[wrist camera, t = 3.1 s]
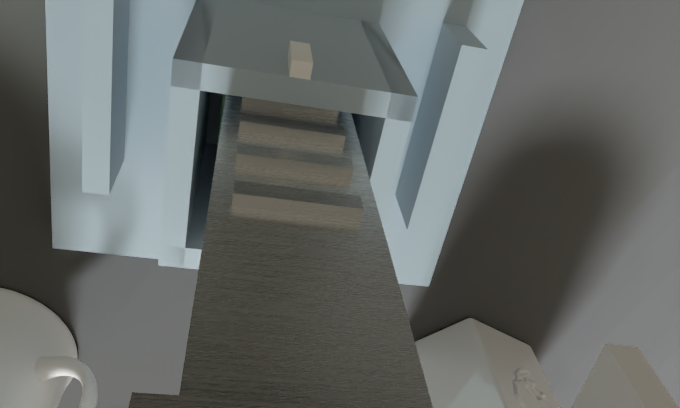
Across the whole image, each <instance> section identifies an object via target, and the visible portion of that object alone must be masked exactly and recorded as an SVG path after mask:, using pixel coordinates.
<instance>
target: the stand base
mask: <svg viewBox="0 0 680 408" xmlns="http://www.w3.org/2000/svg"><path fill="white" fill-rule="evenodd" d="M523 2H524V0H45V9H46V43H47V77H48V111H49V145H50V179H51V213H52V247H53V248H55V249H65V250H74V251H84V252H94V253H104V254H114V255H123V256H133V257H143V258H153V259H159V261H158V265H160V266H170V267H180V268H190V269H199V264H200V258H201V251H202V245H203V238H204V232H205V226H206V219H207V213H208V207H209V200H210V194H211V187H212V181H213V175H214V168H215V161H216V152H217V144H218V135H219V126H220V117H221V108H222V99H223V94H227V95H234V96H241V97H247V98H254V99H261V100H267V101H274V102H281V103H287V104H294V105H301V106H307V107H314V108H321V109H327V110H334V111H341V112H348V113H351V114H352V118H353V121H354V125H355V129H356V132H357V136H358V139H359V143H360V147H361V150H362V154H363V157H364V161H365V165H366V168H367V172H368V175H369V179H370V183H371V186H372V190H373V193H374V197H375V201H376V204H377V208H378V211H379V215H380V219H381V222H382V226H383V229H384V233H385V237H386V240H387V244H388V247H389V251H390V255H391V258H392V262H393V265H394V269H395V273H396V276H397V280H398V283H399V284H408V285H418V286H427V287H429V285H430V282H431V279H432V275H433V272H434V269H435V266H436V263H437V260H438V257H439V254H440V251H441V248H442V245H443V242H444V239H445V236H446V233H447V230H448V227H449V224H450V221H451V218H452V215H453V212H454V209H455V206H456V203H457V200H458V197H459V194H460V191H461V188H462V185H463V182H464V179H465V176H466V173H467V170H468V167H469V164H470V161H471V158H472V155H473V152H474V149H475V146H476V143H477V140H478V137H479V134H480V131H481V128H482V125H483V122H484V119H485V116H486V113H487V110H488V107H489V104H490V101H491V98H492V95H493V92H494V89H495V86H496V83H497V80H498V77H499V74H500V71H501V68H502V65H503V62H504V59H505V56H506V53H507V50H508V47H509V44H510V41H511V38H512V35H513V32H514V29H515V26H516V23H517V20H518V17H519V14H520V11H521V8H522V5H523Z"/></svg>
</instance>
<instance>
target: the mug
mask: <svg viewBox="0 0 680 408" xmlns="http://www.w3.org/2000/svg"><path fill="white" fill-rule="evenodd" d="M73 377H74V378H77V379H78V380H79V381H80V382H81V384H82V398H81V402H80V405H79V407H78V408H96V404H97V395H98V391H97V384H96V380H95V377H94V375H93V373H92V372H91V370H90V369H89V368H88V367H87V366H86V365H85V364H84V363H83V362H81V361H79V360H78V355H77V347H76V344H75V341H74V338H73V336H72V334H71V332H70V331H69V329H68V328H67V326H66V325H65V324H64V322H63V321H62V320H61V319H60V318H59V317H58V316H57V315H56V314H55V313H54V312H52V311H51V310H50V309H49V308H47V307H46V306H44V305H43V304H41V303H40V302H38V301H36V300H34V299H32V298H30V297H28V296H26V295H23V294H21V293H18V292H15V291H12V290H8V289H4V288H0V408H57V407H58V404H59V401H60V399H61V396H62V394H63V392H64V390H65V388H66V387H67V386H68V384H69V383H70V381H71V380H72V378H73Z"/></svg>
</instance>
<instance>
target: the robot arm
mask: <svg viewBox="0 0 680 408" xmlns="http://www.w3.org/2000/svg"><path fill="white" fill-rule="evenodd" d="M572 408H679V407H678V406H677V404H676V403H675V401H674V400H673V398H672V397H671V396H670V394H669V393H668V391H667V390H666V388H665V387H664V385H663V384H662V382H661V381H660V379H659V378H658V376H657V375H656V374H655V372H654V371H653V369H652V368H651V366H650V365H649V363H648V362H647V360H646V359H645V357H644V356H643V354H642V353H641V351H640V350H639V349H638V347H633V346H623V345H613V344H605V346H604V348H603V350H602V352H601V354H600V356H599V357H598V359H597V361H596V363H595V365H594V367H593V369H592V371H591V372H590V374H589V376H588V378H587V380H586V382H585V384H584V385H583V387H582V389H581V391H580V393H579V395H578V397H577V399H576V400H575V402H574V404H573V406H572Z"/></svg>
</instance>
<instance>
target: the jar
mask: <svg viewBox="0 0 680 408" xmlns="http://www.w3.org/2000/svg"><path fill="white" fill-rule="evenodd" d="M415 345H416V348H417V352H418V355H419V359H420V363H421V366H422V370H423V373H424V377H425V381H426V384H427V388H428V391H429V395H430V399H431V402H432V406H433V408H561V407H560V405H559V403H558V401H557V399H556V397H555V395H554V393H553V391H552V389H551V387H550V384H549V382H548V380H547V378H546V376H545V374H544V372H543V370H542V368H541V366H540V364H539V362H538V360H537V358H536V356H535V354H534V352H533V350H532V348H531V347H530V346H529V345H528V344H526V343H523V342H521V341H519V340H517V339H515V338H513V337H511V336H509V335H507V334H504V333H502V332H500V331H498V330H496V329H494V328H492V327H490V326H488V325H486V324H483V323H481V322H479V321H477V320H475V319H473V318H467V319H465V320H463V321H460V322H458V323H456V324H454V325H451V326H449V327H447V328H445V329H442V330H440V331H438V332H435V333H433V334H431V335H429V336H426V337H424V338H422V339H420V340H417V341H415Z"/></svg>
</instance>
